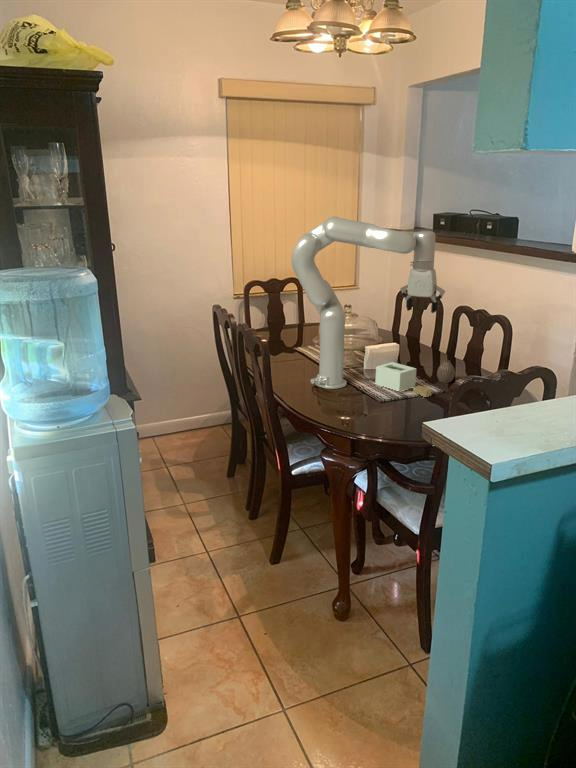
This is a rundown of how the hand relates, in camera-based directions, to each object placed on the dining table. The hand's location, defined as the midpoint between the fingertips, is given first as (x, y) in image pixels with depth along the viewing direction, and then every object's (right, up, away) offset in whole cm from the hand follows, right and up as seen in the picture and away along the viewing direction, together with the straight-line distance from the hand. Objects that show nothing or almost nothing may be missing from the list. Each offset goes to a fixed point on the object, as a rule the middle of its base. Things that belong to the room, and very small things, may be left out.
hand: (421, 311), depth 216 cm
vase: (+13, -27, +15) cm, 34 cm away
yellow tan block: (0, -32, 0) cm, 32 cm away
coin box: (-8, -29, +9) cm, 31 cm away
